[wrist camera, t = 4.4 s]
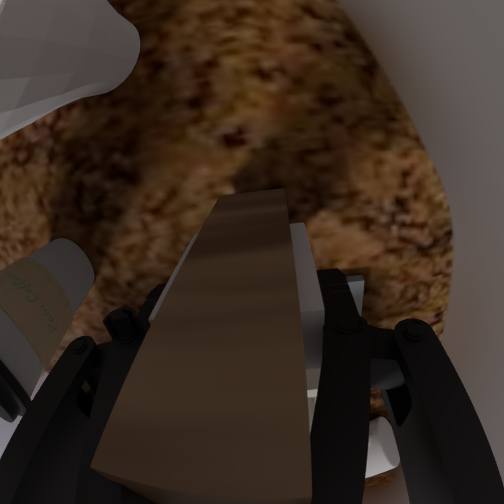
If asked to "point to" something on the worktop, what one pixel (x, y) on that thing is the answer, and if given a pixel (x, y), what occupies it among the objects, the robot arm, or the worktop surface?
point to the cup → (59, 55)
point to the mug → (381, 448)
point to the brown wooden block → (220, 372)
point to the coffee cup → (37, 316)
